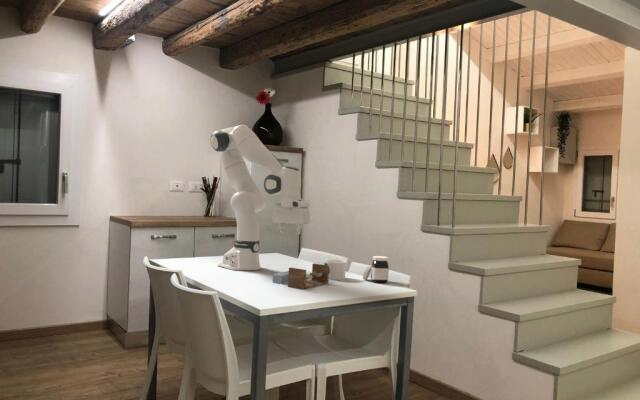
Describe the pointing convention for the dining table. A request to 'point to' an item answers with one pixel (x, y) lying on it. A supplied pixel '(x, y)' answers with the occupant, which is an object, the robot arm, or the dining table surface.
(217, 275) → the dining table surface
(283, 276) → the blue-grey block
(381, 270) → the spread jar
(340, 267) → the mug
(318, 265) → the wooden u-shaped block
